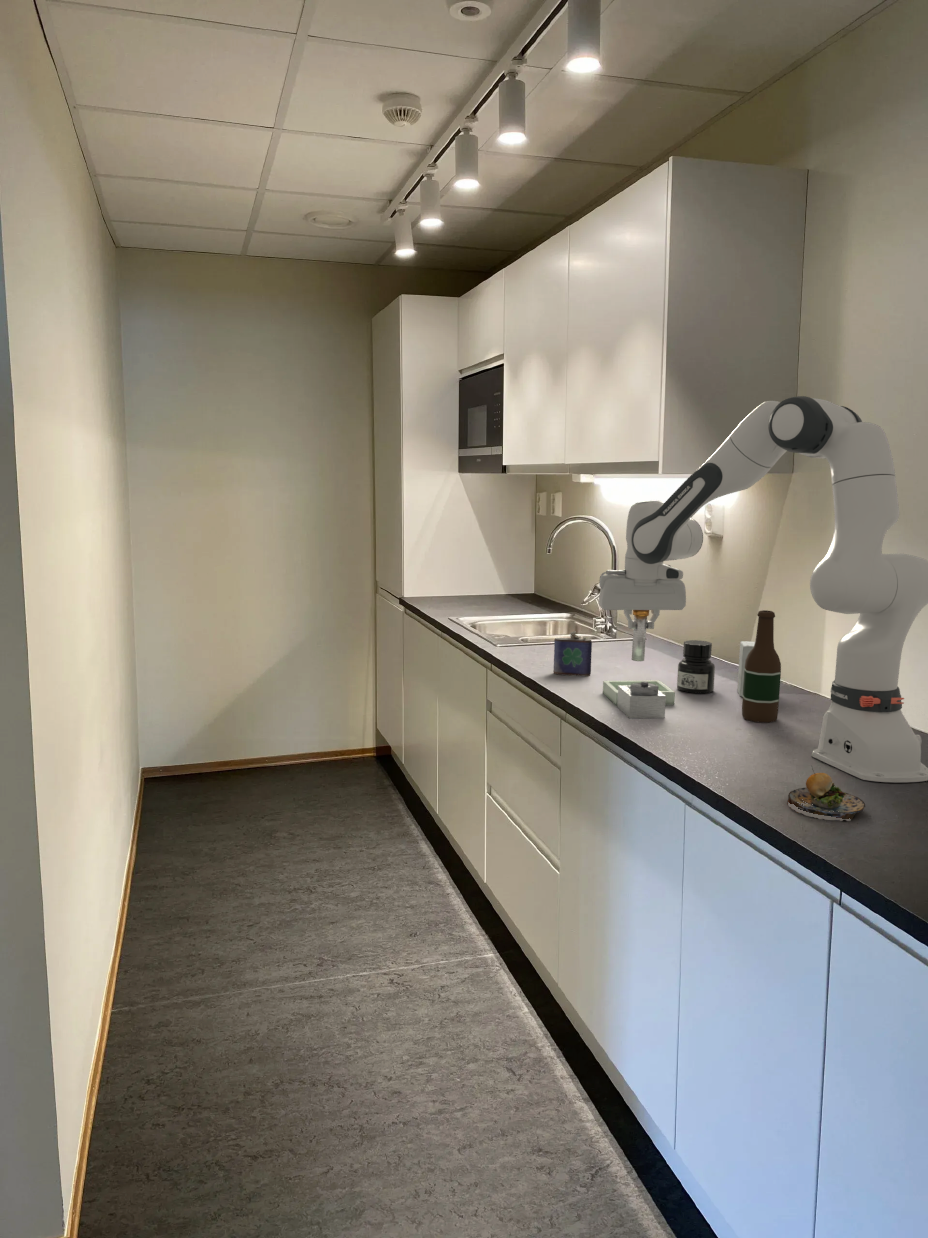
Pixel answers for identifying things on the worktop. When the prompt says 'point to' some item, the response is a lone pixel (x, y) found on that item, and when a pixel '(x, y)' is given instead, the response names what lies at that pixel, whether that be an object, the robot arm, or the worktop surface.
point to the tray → (612, 686)
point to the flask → (572, 655)
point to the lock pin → (639, 634)
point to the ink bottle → (696, 668)
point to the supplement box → (743, 663)
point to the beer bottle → (762, 674)
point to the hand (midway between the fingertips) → (640, 628)
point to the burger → (825, 798)
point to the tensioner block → (641, 701)
